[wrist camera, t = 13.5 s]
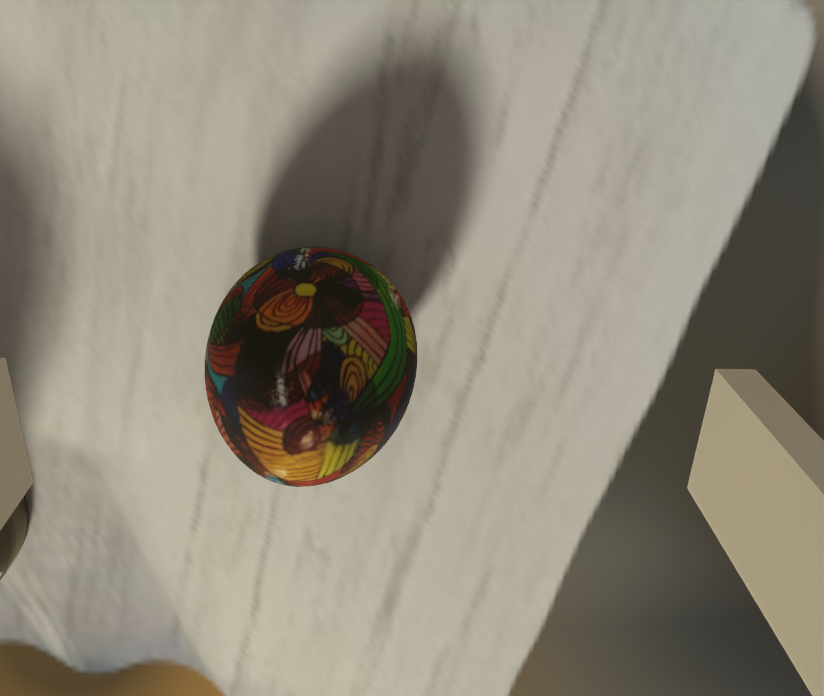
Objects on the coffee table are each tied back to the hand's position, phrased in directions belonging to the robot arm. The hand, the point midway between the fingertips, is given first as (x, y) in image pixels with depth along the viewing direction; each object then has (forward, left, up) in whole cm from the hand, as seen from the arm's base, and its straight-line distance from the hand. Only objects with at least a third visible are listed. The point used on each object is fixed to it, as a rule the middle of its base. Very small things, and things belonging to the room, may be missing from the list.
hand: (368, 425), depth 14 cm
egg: (-3, -10, -29) cm, 31 cm away
